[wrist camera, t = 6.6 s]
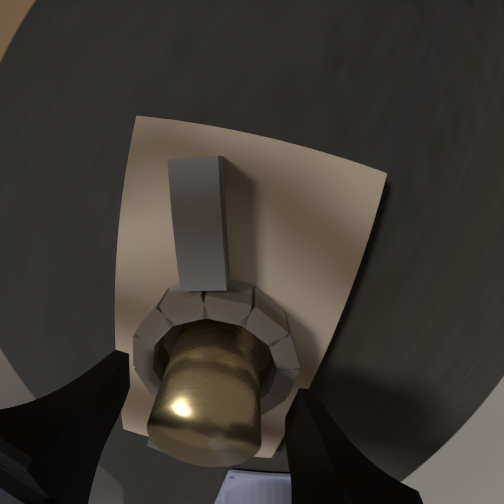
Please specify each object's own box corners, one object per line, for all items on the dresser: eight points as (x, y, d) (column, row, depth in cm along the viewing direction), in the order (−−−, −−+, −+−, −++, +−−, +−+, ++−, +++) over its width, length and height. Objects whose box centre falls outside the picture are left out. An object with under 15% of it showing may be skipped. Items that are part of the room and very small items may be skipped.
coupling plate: (270, 447, 18) (272, 479, 16) (127, 419, 18) (115, 448, 15) (377, 171, 12) (408, 177, 10) (144, 118, 12) (117, 109, 9)
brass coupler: (248, 379, 15) (247, 472, 9) (175, 364, 15) (147, 453, 9) (267, 320, 14) (276, 417, 8) (184, 301, 13) (146, 391, 8)
